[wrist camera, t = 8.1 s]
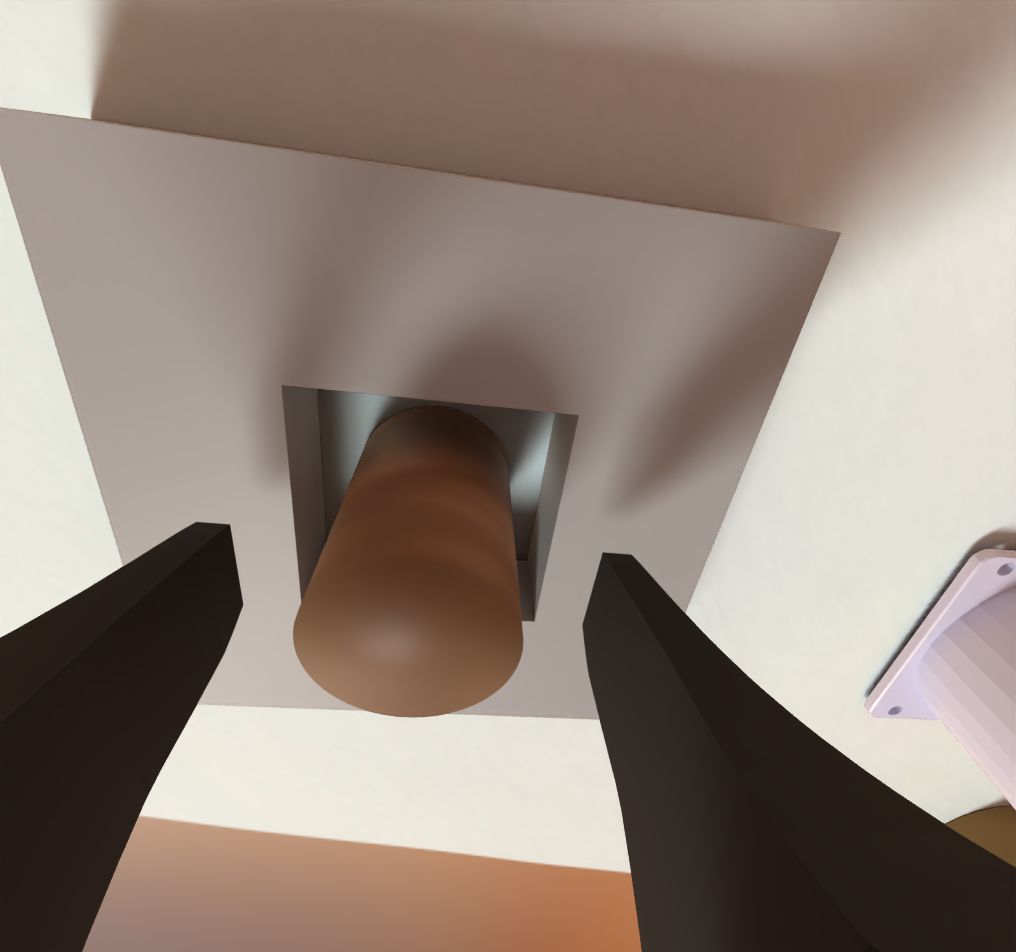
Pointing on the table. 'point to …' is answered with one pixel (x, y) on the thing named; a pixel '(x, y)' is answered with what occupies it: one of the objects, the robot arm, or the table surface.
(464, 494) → the wooden peg
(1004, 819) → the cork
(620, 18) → the table surface
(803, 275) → the socket block
